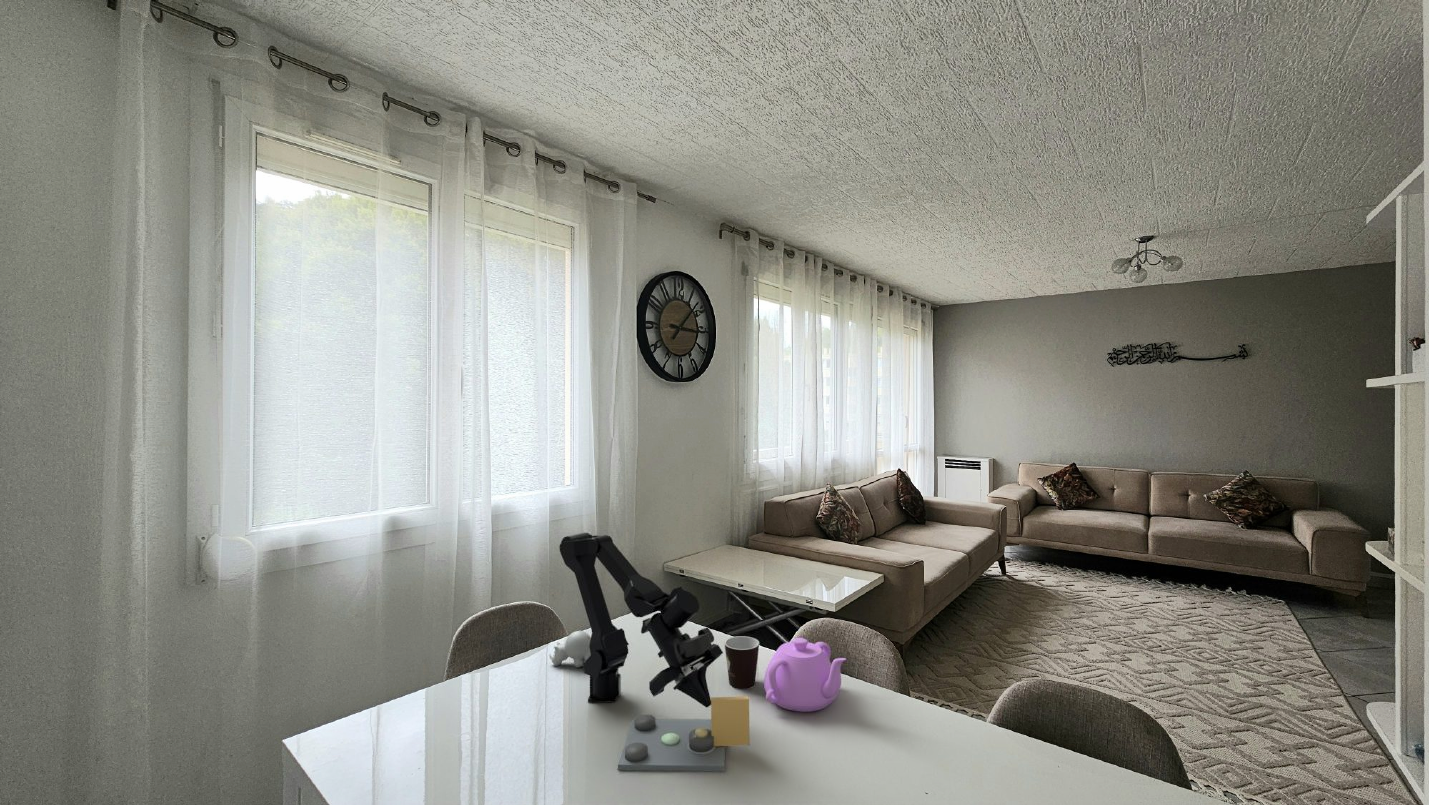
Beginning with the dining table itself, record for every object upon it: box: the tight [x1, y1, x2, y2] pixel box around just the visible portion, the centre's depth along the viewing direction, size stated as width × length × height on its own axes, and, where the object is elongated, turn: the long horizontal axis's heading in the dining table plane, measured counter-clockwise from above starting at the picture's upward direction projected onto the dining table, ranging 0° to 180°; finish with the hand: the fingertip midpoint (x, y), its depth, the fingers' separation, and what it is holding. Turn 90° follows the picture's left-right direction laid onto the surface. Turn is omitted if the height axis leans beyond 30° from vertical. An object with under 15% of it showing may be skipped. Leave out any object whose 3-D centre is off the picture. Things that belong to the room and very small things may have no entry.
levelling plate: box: [617, 713, 726, 772], centre depth 121 cm, size 20×17×2 cm
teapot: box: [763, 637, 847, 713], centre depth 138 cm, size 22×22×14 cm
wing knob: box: [689, 695, 750, 752], centre depth 119 cm, size 12×5×9 cm, turn 93°
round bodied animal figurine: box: [549, 630, 591, 669], centre depth 160 cm, size 7×12×8 cm, turn 89°
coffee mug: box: [724, 635, 760, 690], centre depth 150 cm, size 12×9×10 cm
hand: (709, 706), depth 123 cm, fingers closed
